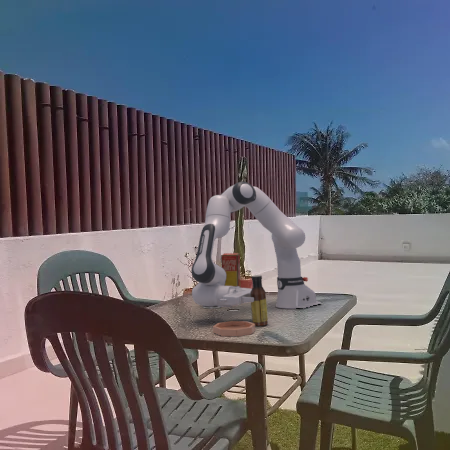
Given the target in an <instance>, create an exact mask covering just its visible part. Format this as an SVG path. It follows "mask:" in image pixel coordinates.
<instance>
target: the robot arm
mask: <svg viewBox="0 0 450 450" xmlns="http://www.w3.org/2000/svg"><path fill="white" fill-rule="evenodd" d="M244 207H245V208H247V209H248V210H249V212H250V213H251V215H253V217H254V218H255V219H257V221H258V222H259V223H260V225H262V227H264V229H266V230H267V231H268V232H270V234H271V240H272V242H273V247H274V253H275V257H276V263H277V277H276V283H277V284H276V285H277V298H276V304H275V307H276V308H279V309H296V308H303V309H307V308H306V307H308V308H311V307H310V306H313V305H317V304H320V303H321V304H322V302H321V301H318V299H317V294H316V292H315V291H314V290H313V289H311V288H310V287H309V286H308V285H306V284H305V282H306V283H307V282H308V280H309V278H308V277H305V276H302V269H301V268H302V267H301V259H300V257H299V254H298V250H297V248H299V247H302V246H303V244H304V243H305V241H306V234H305V231H304V230H303V229H302V228H301V227H299V226H298V225H297V224H296V223H295V222H294V221H292V220H291V219H290V218H289V217H288V216H287V215H285V214H284V212H283V211H282V210H280V208H279V207H278V206H277V205H276V204H275V202H273V201H272V200H271V198H270V197H269V196H268V195H267V194H266V193H265V192H264V191H263V190H262V189H260V188H259V187H257V186H253V185H252V184H250V183H249V182H246V181H239V182H236V183H235V184H232V185H231V186H229V187H228V188H226V190H225V191H223V192H222V193H220V194H216V195H213V196H212V197H210V199H208V203H207V207H206V212H205V219H204V220H205V221H204V225H203V227H202V229H201V232H200V236H199V237H200V238H199V243H198V247H197V252H196V257H195V259H194V261H193V264H192V266H191V276H192V278H193V280H195V282H197V284H196V285H195V286H194V287H193V288H192V290H191V296H192V300H193V302H194V303H195V304H196V305H199V306H201V307H202V306H211V307H213V306H219V307H221V308H233V307H235V306H239V305H242V304H245V303H251V302H254V301H255V297H251V290H252V288H249V287H241V288H240V287H239V286H225V282H226V272H225V270H224V269H223V268H222V267H221V265H218V264H217V263H215V262H214V260H213V251H214V245H215V241H216V239H221V238H224V237H225V236H227V235H228V234H229V230H230V227H231V214H234V213H235V212H237V211H239V210H242V209H243V208H244ZM317 306H318V305H317ZM313 307H314V306H313Z"/></svg>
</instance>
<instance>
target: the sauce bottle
mask: <svg viewBox="0 0 450 450" xmlns="http://www.w3.org/2000/svg"><path fill="white" fill-rule="evenodd" d="M262 279H263V276H262V275H261V274H257V275H251V280H252V288H251V289H252V290H251V297H255V301H254V302H250V307H251V308H250V309H251V319H252V321H251V322H252V323H254V324H255V327H264V326H265V327H266V326H267V325H268V320H269V317H268V306H267V297H266V295H267V294H266V291H265V289H264V287H263V282H262V281H263V280H262Z"/></svg>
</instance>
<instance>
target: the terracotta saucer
mask: <svg viewBox="0 0 450 450" xmlns="http://www.w3.org/2000/svg"><path fill="white" fill-rule="evenodd" d="M255 331H256V326H255V324H254V323H253V322H252V321H251V322H250V321H246V320H229V321H223V322H217V323H216V324H215V325H213V326H212V333H213V334H214V333H216V334H215V335H217V334H218V336H219V335H221V336H220V337H232V336H238V337H243V335H244V336H249V335H252V334H254V332H255Z"/></svg>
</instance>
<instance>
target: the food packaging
mask: <svg viewBox="0 0 450 450" xmlns="http://www.w3.org/2000/svg"><path fill="white" fill-rule="evenodd" d="M220 259H221V260H220V263H221V264H220V267H222V268H223V269H224V270H225V272H226V282H225V286H239V287H240V288H242V287H241V284H242V283H241V264H240V263H241V253H240V252H238V253H237V252H234V253H233V252H231V253H228V252H227V253H226V252H225V253H223V254H221V255H220Z"/></svg>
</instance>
